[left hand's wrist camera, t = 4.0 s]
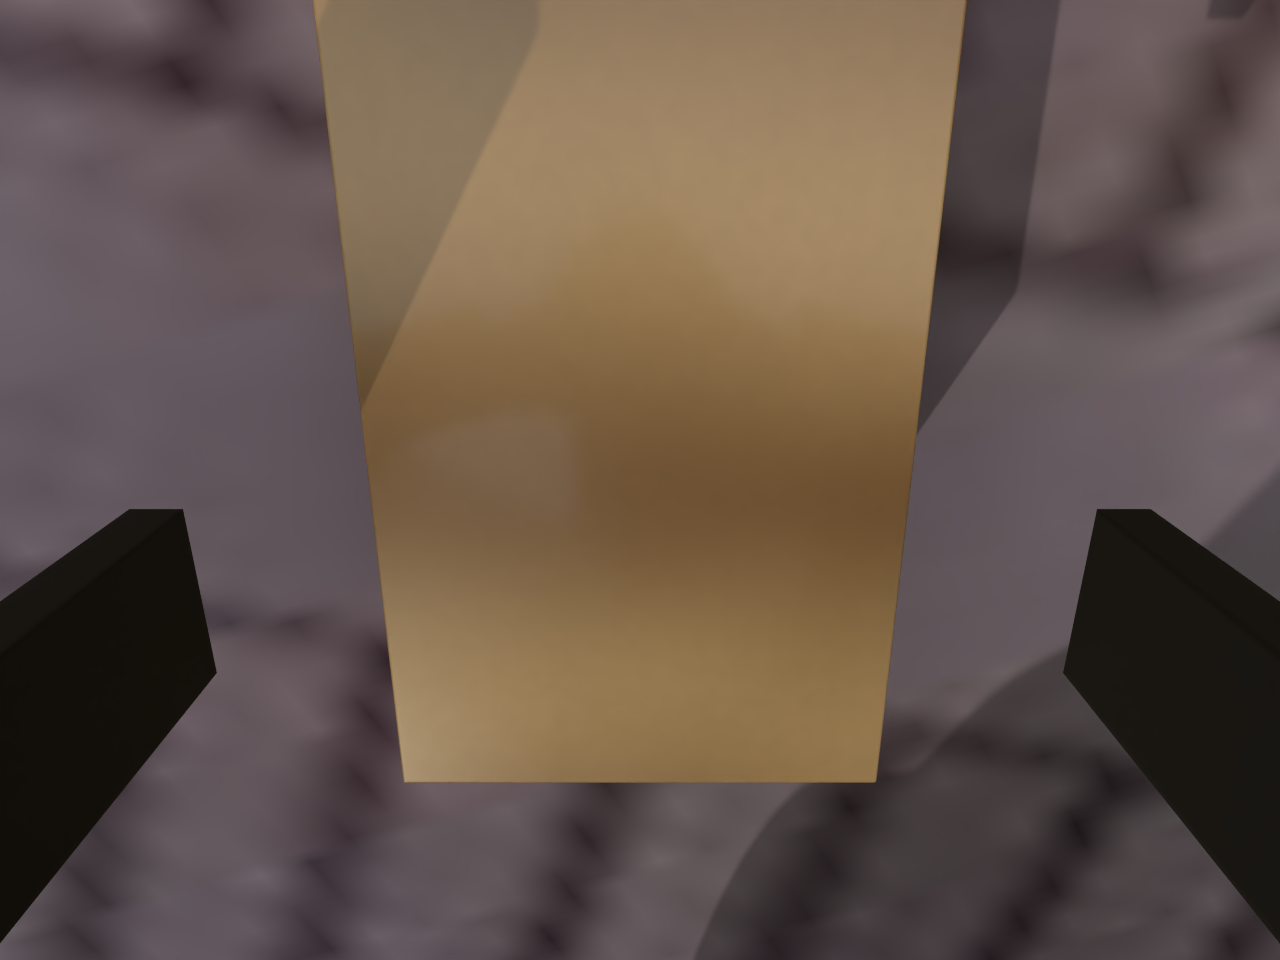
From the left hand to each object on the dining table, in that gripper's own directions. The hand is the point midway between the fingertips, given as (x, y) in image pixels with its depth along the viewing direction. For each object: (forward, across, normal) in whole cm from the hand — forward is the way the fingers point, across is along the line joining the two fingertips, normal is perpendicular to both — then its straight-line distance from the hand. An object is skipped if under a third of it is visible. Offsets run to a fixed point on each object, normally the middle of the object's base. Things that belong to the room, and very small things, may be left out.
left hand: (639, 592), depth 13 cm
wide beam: (+10, 0, -28) cm, 30 cm away
